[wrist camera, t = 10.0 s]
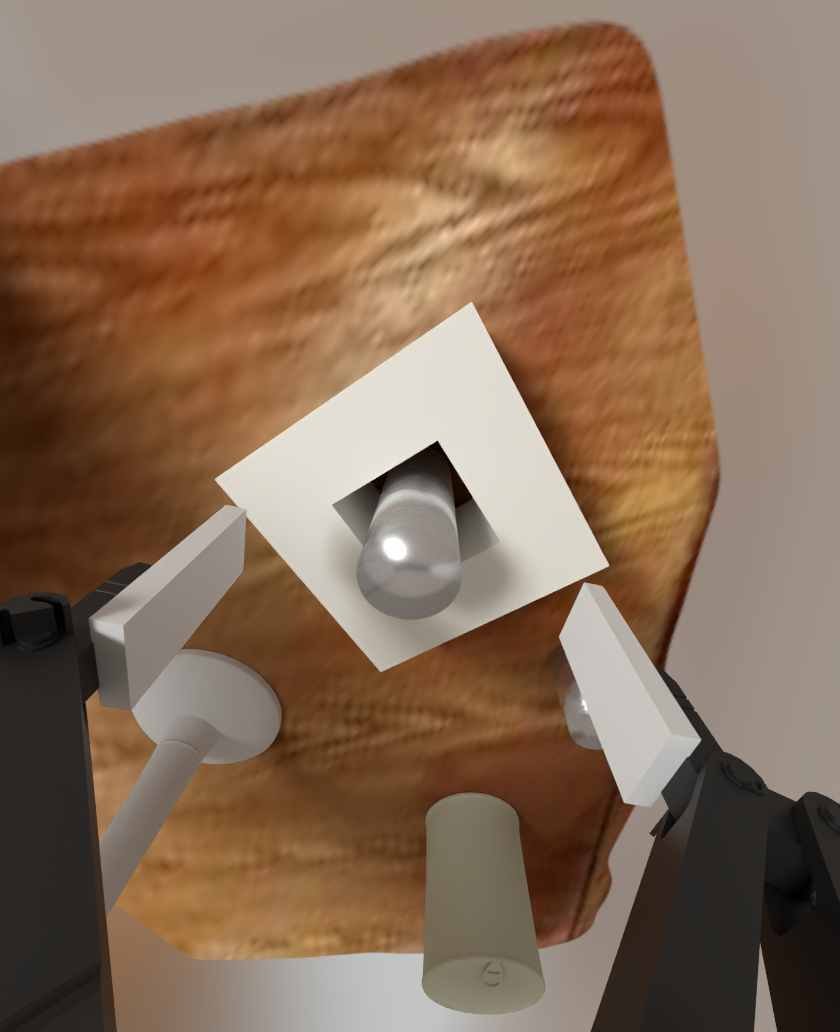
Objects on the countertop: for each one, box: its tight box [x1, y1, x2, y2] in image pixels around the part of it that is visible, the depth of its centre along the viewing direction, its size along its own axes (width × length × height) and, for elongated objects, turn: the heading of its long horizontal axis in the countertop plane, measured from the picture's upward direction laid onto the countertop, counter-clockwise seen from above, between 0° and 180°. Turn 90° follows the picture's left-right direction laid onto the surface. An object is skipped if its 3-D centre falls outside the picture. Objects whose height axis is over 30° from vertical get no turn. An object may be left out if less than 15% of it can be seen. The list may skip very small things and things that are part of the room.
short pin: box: [548, 645, 603, 750], centre depth 30 cm, size 4×4×6 cm
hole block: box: [215, 302, 609, 672], centre depth 24 cm, size 14×14×7 cm
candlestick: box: [99, 649, 282, 917], centre depth 22 cm, size 13×13×30 cm
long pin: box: [356, 447, 462, 620], centre depth 21 cm, size 4×4×12 cm
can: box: [422, 792, 545, 1014], centre depth 36 cm, size 9×9×12 cm
